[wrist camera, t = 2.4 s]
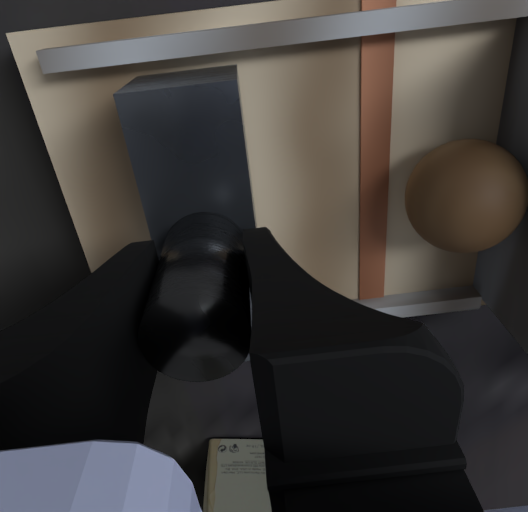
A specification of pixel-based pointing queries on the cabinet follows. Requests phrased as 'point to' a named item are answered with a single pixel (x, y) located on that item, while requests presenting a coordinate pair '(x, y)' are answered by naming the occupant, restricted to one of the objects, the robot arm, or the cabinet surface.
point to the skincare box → (236, 477)
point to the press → (325, 138)
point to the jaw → (192, 217)
